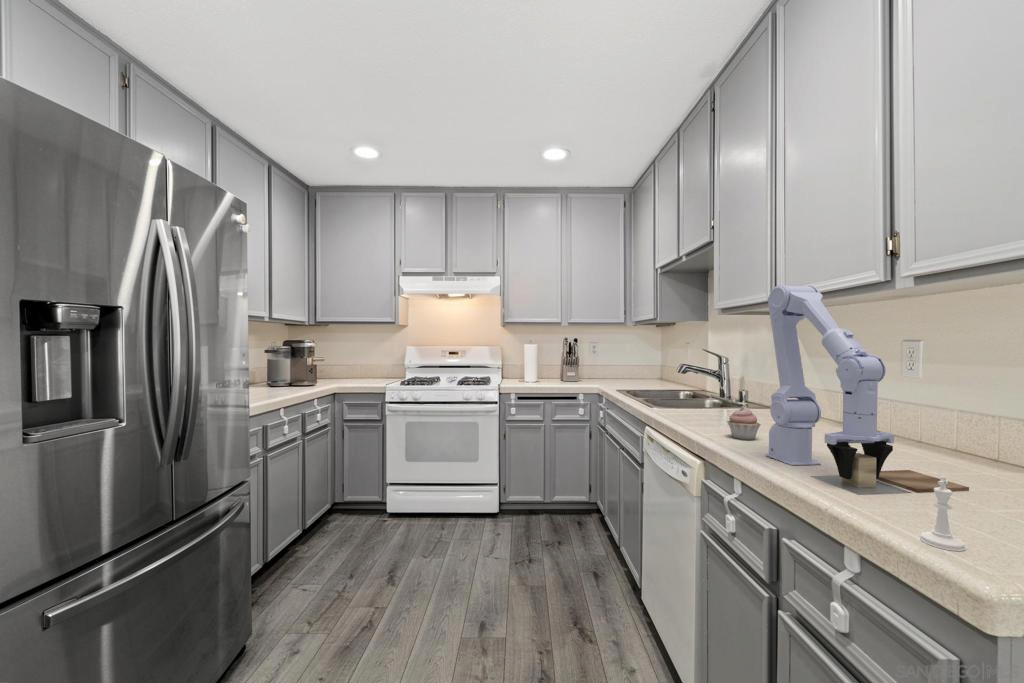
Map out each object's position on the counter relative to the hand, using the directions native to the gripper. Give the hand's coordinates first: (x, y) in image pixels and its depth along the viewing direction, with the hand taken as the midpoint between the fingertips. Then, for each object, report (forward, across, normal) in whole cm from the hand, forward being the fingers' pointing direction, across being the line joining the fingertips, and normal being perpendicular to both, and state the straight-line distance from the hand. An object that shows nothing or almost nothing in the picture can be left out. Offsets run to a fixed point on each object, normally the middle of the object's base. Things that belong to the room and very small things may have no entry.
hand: (858, 477), depth 94 cm
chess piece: (+2, -12, -26) cm, 29 cm away
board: (+2, +13, 0) cm, 13 cm away
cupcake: (+2, +4, +44) cm, 44 cm away
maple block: (+1, 0, 0) cm, 1 cm away
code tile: (+2, 0, 0) cm, 2 cm away
